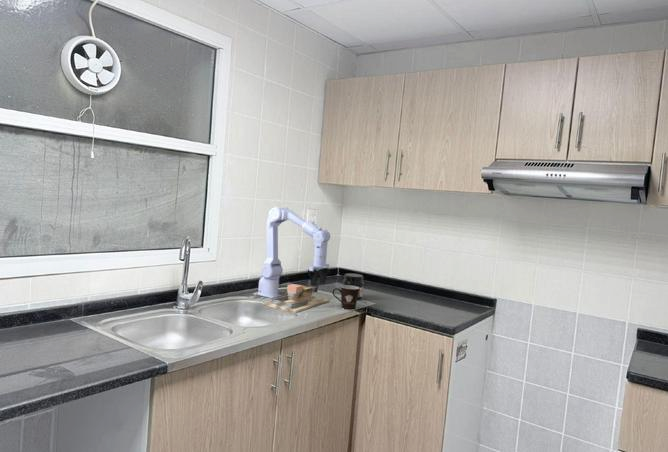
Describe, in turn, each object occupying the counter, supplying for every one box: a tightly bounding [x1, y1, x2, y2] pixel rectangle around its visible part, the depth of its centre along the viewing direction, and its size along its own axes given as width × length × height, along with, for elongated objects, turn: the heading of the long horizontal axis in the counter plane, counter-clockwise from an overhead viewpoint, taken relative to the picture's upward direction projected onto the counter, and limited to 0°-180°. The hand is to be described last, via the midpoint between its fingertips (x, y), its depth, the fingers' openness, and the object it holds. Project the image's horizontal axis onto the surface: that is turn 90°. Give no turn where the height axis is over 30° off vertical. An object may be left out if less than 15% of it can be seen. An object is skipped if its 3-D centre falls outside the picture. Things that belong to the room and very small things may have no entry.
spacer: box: [286, 283, 303, 294], centre depth 216 cm, size 5×5×3 cm
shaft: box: [287, 280, 319, 298], centre depth 222 cm, size 5×20×5 cm, turn 150°
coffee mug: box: [332, 284, 359, 310], centre depth 218 cm, size 12×9×10 cm
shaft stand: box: [263, 284, 330, 313], centre depth 219 cm, size 17×29×8 cm, turn 150°
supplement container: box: [342, 273, 365, 301], centre depth 239 cm, size 10×10×12 cm
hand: (317, 284), depth 217 cm, fingers open, 7 cm apart
